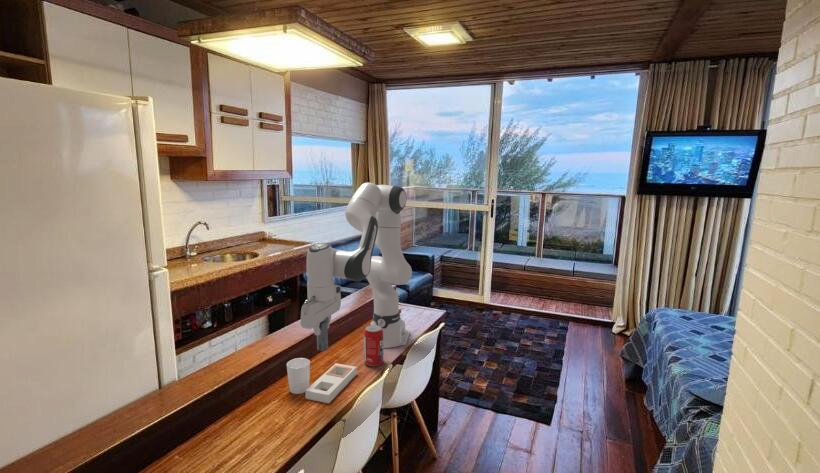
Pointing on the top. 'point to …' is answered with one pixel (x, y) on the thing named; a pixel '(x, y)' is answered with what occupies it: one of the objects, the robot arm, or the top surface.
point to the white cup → (298, 375)
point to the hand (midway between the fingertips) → (322, 331)
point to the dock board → (331, 383)
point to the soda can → (373, 345)
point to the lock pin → (323, 336)
